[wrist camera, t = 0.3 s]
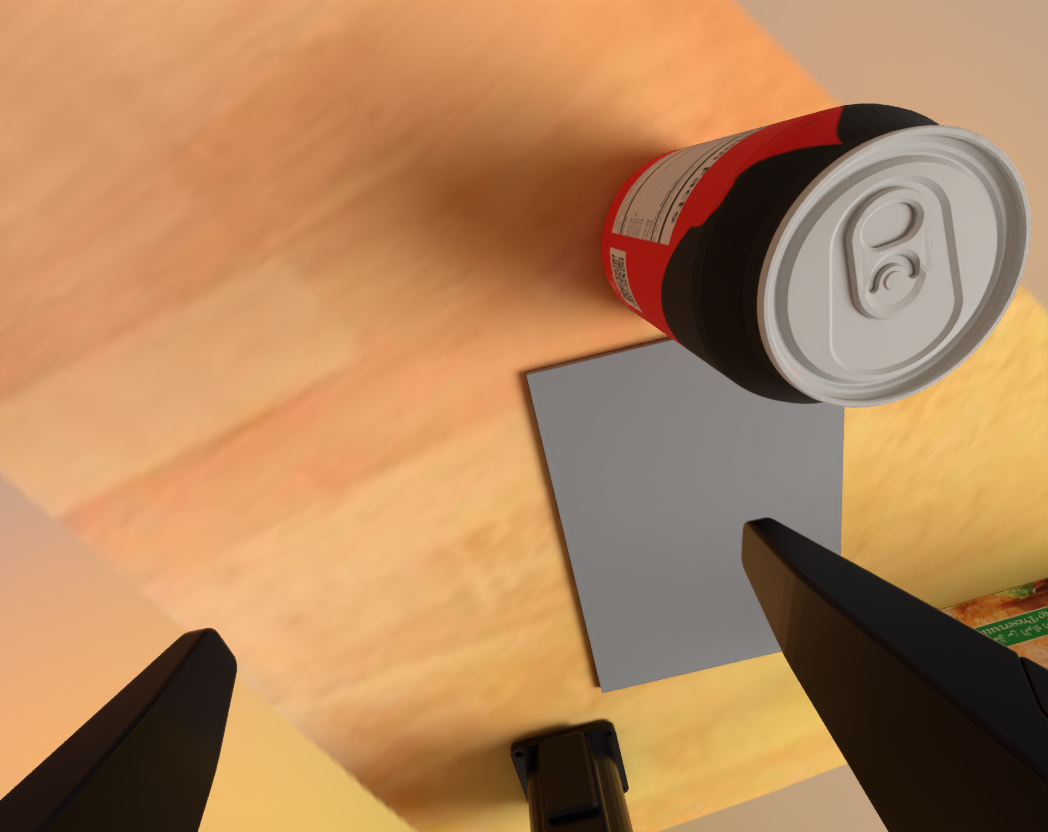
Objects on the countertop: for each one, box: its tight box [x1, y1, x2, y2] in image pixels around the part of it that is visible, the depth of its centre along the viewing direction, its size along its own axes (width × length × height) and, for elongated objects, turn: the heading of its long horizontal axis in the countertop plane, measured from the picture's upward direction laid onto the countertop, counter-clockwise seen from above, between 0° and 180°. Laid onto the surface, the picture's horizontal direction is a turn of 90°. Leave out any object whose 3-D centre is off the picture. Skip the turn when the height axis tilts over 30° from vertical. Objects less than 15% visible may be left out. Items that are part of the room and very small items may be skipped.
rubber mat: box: [526, 338, 844, 693], centre depth 26 cm, size 20×14×1 cm
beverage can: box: [601, 104, 1031, 408], centre depth 15 cm, size 6×6×12 cm
